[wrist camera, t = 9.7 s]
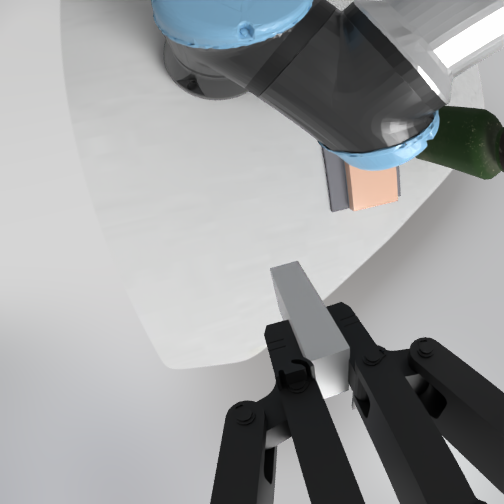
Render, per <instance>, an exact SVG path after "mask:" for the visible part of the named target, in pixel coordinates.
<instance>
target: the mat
mask: <svg viewBox="0 0 504 504" xmlns="http://www.w3.org/2000/svg"><path fill="white" fill-rule="evenodd" d="M322 148H323V147H322ZM323 154H324V160H325V167H326V173H327V180H328V187H329V195H330V203H331V211H332V212H335V211H339V210H343V209H347V208H349V202H348V192H347V183H346V175H345V167H344V160H343V159H341V158H340V157H339V156H337V155H336V154H334V153H332V152H329V151H328V150H326V149H325V148H323ZM396 172H397V189H398V197H399V196H401V195H400V174H399V166H396Z"/></svg>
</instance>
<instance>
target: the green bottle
mask: <svg viewBox="0 0 504 504" xmlns="http://www.w3.org/2000/svg"><path fill="white" fill-rule="evenodd" d="M438 114H439V127H438V131H437V133H436V135H435V136H434V138H433V139H430V140H427V141H426V142H427V147H426V148H425V149H424V150H423V151H422V152H421V153H420V154H418V155H417V156H416V158H418V159H421V160H425V161H429V162H432V163H436V164H439V165H442V166H446V167H449V168H452V169H455V170H458V171H461V172H464V173H467V174H470V175H473V176H476V177H479V178H482V179H484V180H485V179H492V178H493V177H494V176H496V175H497V174H498V173H500V171H502V172H504V127H502V125H501V123H500V122H499V120H498V119H497V118H496V116H495V115H493V114H492V113H490V112H489V111H487V110H485V109H476V108H467V107H454V106H443V107H442V108H440V109H439V110H438Z"/></svg>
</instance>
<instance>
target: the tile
mask: <svg viewBox="0 0 504 504" xmlns="http://www.w3.org/2000/svg"><path fill="white" fill-rule="evenodd" d="M344 167H345V175H346V183H347V192H348V202H349V208H350V209H351V210H353V211H358V210H362V209H366V208H370V207H374V206H378V205H382V204H386V203H391V202H395V201H398V189H397V172H396V167H393V168H390V169H386V170H379V171H367V170H361V169H358V168H356V167H353V166H351V165H349V164H348V163H346V162H345V161H344Z"/></svg>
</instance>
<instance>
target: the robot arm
mask: <svg viewBox="0 0 504 504" xmlns="http://www.w3.org/2000/svg"><path fill="white" fill-rule="evenodd" d="M151 2H152V7H153V12H154V15H153V17H154V21H155V23H156V25H157V26H158V28H159V30H162V33H163V34H164V36H165V38H166V42H165V46H164V61H165V65H166V68H167V71H168V73H169V74H170V76H171V77H172V79H173V80H174V81H175V83H176V84H177V85H178V86H179V87H180V88H182V89H183V90H184V91H186V92H188V93H189V94H191V95H194V96H196V97H199V98H203V99H209V100H225V99H231V98H235V97H238V96H240V95H243V94H245V93H247V92H249V91H250V92H251V93H253V94H254V95H256V96H257V97H258V98H260V99H261V100H263V101H264V102H266V103H267V104H269V105H270V106H272V107H273V108H275V109H276V110H277V111H279V112H280V113H282V114H283V115H285V116H286V117H287V118H289V119H290V120H292V121H293V122H294V123H296V124H297V125H298V126H300V127H301V128H302V129H304V130H305V131H306V132H308V133H309V134H310V135H312V136H313V137H314V138H316V139H317V140H318V143H319V144H320V145H321V146H322V147H323V148H325V149H326V150H328V151H329V152H332V153H334V154H336V155H337V156H339V157H340V158H341V159H343V160H344V161H345V162H346V163H348V164H349V165H351V166H353V167H356V168H358V169H361V170H367V171H379V170H386V169H390V168H393V167H396V166H399V165H401V164H403V163H405V162H407V161H409V160H411V159H413V158H414V157H416V156H417V155H418V154H420V153H421V152H422V151H423V150H424V149H425V148H426V147H427V142H426V141H427V140H430V139H433V138H434V136H435V135H436V133H437V131H438V127H439V114H438V110H439V109H440V108H442V107H443V106H445V105H447V104H448V103H450V96H451V88H452V82H453V79H454V78H455V77H456V76H458V75H460V74H461V73H463V72H464V71H466V70H468V69H469V68H471V67H472V66H474V65H476V64H477V63H479V62H481V61H482V60H484V59H486V58H487V57H489V56H491V55H492V54H494V53H496V52H497V51H499V50H501V49H502V48H504V0H381V1H375V0H355V1H353V2H352V3H351V4H350V5H349V6H348V7H347V8H345V9H344V10H343V11H340V10H339V9H337V8H336V7H335V6H333V5H332V4H331V3H329V2H328V1H326V0H151ZM270 271H271V275H272V280H273V284H274V288H275V293H276V297H277V302H278V306H279V310H280V312H281V315H282V318H283V321H281V322H277V323H274V324H270V325H267V326H266V330H265V333H264V336H265V340H266V343H267V347H268V351H269V354H270V358H271V362H272V366H273V369H274V373H275V379H276V384H275V387H274V389H273V390H272V392H271V393H270V394H269V395H268V396H266V397H264V398H263V399H261V400H259V401H257V402H254V401H242V402H238V403H236V404H235V405H233V406H232V407H231V408H230V409H229V410H228V412H227V415H226V418H225V424H224V429H223V435H222V441H221V446H220V452H219V457H218V463H217V469H216V474H215V480H214V485H213V491H212V496H211V502H210V504H273V501H274V488H275V473H276V456H277V445H278V444H280V443H282V442H283V441H285V440H287V439H288V438H290V437H292V438H293V442H294V445H295V449H296V452H297V456H298V459H299V463H300V466H301V470H302V473H303V477H304V480H305V484H306V487H307V490H308V494H309V497H310V501H311V504H365V502H364V500H363V497H362V494H361V492H360V489H359V486H358V484H357V481H356V479H355V476H354V474H353V471H352V469H351V466H350V464H349V461H348V458H347V456H346V453H345V451H344V448H343V446H342V443H341V441H340V438H339V436H338V433H337V431H336V428H335V426H334V423H333V421H332V418H331V416H330V413H329V411H328V408H327V406H326V403H325V401H324V399H325V398H328V397H331V396H334V395H336V394H340V393H342V392H345V391H347V390H349V385H350V387H351V389H352V390H353V398H352V408H353V409H355V406H356V407H357V409H358V411H359V413H360V415H361V418H362V420H363V422H364V424H365V426H366V428H367V431H368V433H369V435H370V437H371V439H372V441H373V444H374V446H375V448H376V450H377V452H378V454H379V457H380V459H381V461H382V463H383V466H384V468H385V470H386V473H387V475H388V477H389V479H390V482H391V484H392V486H393V489H394V491H395V493H396V495H397V498H398V500H399V502H400V504H487V503H486V502H484V501H481V500H478V499H477V498H476V497H475V495H474V493H473V491H472V489H471V488H470V486H469V484H468V482H467V480H466V478H465V476H464V474H463V472H462V471H461V468H460V467H459V465H458V463H457V461H456V459H455V458H454V456H453V454H452V453H451V451H450V449H449V447H448V445H447V444H446V442H445V440H444V438H445V439H446V440H448V441H449V442H450V443H451V444H452V445H453V446H454V447H455V448H456V449H457V450H458V451H459V452H460V453H461V454H462V455H463V456H464V457H465V458H466V459H467V460H468V461H469V462H470V463H471V464H472V465H474V466H475V467H476V468H477V469H478V470H479V471H480V472H481V473H482V474H483V475H484V476H485V477H486V478H487V479H488V480H489V481H490V482H491V483H492V484H493V485H494V486H495V487H496V488H498V489H499V490H500V491H501V492H502V493H503V494H504V393H503V392H502V391H501V390H500V389H498V388H497V387H496V386H494V385H493V384H492V383H491V382H489V381H488V380H487V379H486V378H484V377H483V376H482V375H480V374H479V373H478V372H477V371H475V370H474V369H473V368H471V367H470V366H469V365H468V364H466V363H465V362H464V361H462V360H461V359H460V358H459V357H457V356H456V355H454V354H453V353H452V352H451V351H449V350H448V349H447V348H445V347H444V346H442V345H441V344H440V343H439V342H437V341H436V340H434V339H432V338H426V337H425V338H419V339H417V340H415V341H414V342H413V343H412V344H411V346H410V349H405V350H398V351H388V350H386V349H385V348H383V347H381V346H377V345H376V344H375V342H374V341H373V339H372V338H371V337H370V335H369V333H368V332H367V331H366V329H365V328H364V326H363V325H362V324H361V322H360V320H359V319H358V317H357V316H356V315H355V313H354V312H353V311H352V309H351V308H350V307H349V306H348V305H346V304H344V303H342V302H340V303H337V304H334V305H331V306H327V307H326V306H325V305H324V303H323V301H322V300H321V298H320V296H319V295H318V293H317V291H316V290H315V288H314V287H313V285H312V283H311V282H310V280H309V278H308V277H307V275H306V273H305V272H304V270H303V269H302V267H301V265H300V264H299V262H298V261H295V262H291V263H288V264H284V265H281V266H277V267H274V268H270ZM442 436H443V437H444V438H443V437H442Z"/></svg>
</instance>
